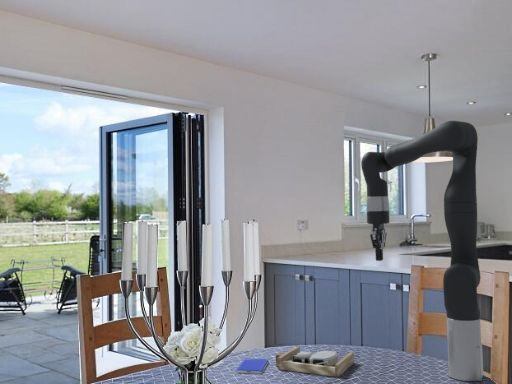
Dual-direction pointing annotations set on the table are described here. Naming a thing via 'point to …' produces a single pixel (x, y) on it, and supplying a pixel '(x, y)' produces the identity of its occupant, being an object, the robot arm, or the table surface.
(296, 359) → the robot toy
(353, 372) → the table surface
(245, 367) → the hard drive
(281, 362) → the wooden tray
